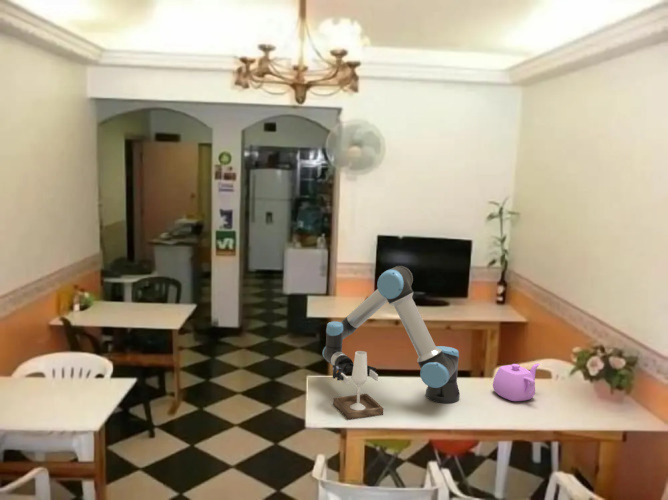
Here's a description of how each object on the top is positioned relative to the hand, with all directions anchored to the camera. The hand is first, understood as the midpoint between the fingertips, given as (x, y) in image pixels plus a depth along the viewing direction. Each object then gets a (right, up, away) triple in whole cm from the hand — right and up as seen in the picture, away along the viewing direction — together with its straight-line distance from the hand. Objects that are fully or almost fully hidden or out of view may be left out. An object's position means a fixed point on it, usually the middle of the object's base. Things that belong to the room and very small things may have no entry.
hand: (362, 379), depth 256 cm
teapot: (+71, -13, +28) cm, 78 cm away
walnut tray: (-2, -14, +5) cm, 15 cm away
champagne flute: (-2, -13, +5) cm, 14 cm away
